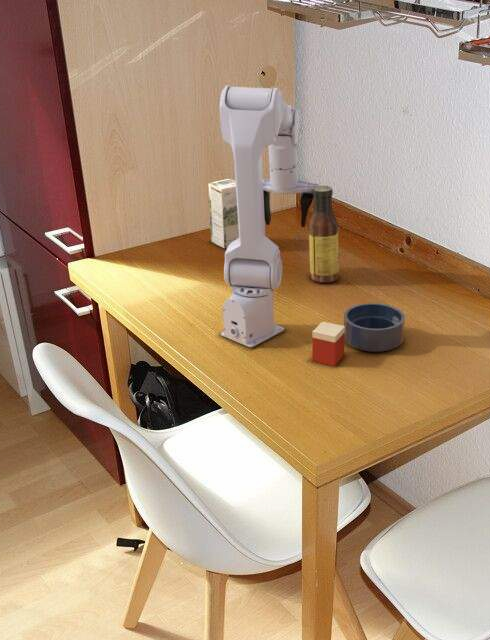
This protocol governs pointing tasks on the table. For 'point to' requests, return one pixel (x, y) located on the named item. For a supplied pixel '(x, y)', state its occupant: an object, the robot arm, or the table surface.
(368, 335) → the bowl
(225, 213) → the syrup box
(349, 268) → the table surface
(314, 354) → the red block
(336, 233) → the sauce bottle
